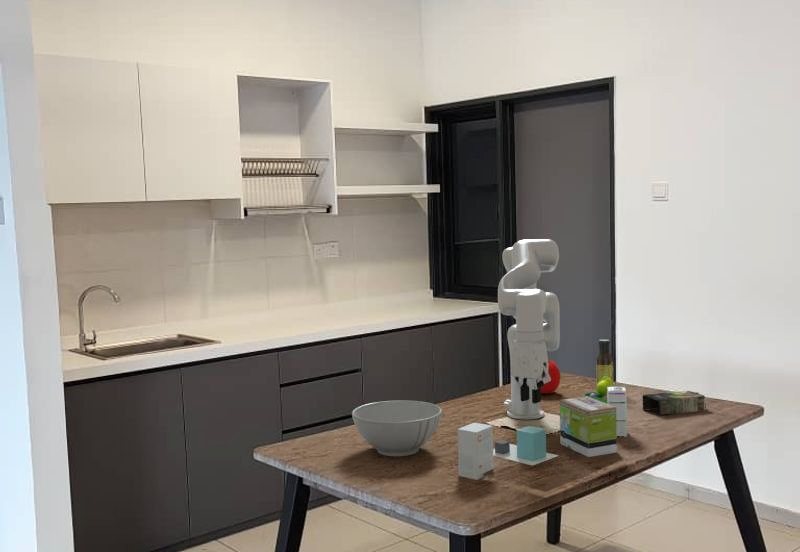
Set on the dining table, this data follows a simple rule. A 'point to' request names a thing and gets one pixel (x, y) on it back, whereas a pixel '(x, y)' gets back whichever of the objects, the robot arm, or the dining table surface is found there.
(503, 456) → the board
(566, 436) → the tea box
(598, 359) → the sauce bottle
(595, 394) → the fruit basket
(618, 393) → the syrup box
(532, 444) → the teal rectangular block
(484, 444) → the small box
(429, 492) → the dining table surface
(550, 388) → the tomato
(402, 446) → the decorative bowl
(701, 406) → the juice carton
